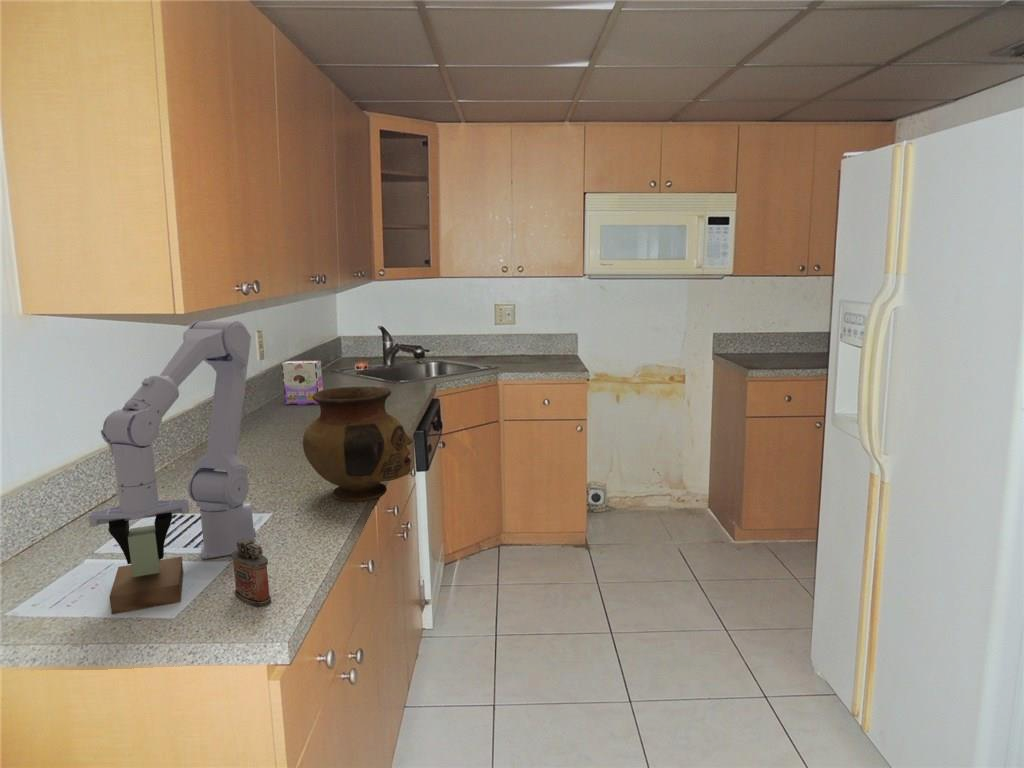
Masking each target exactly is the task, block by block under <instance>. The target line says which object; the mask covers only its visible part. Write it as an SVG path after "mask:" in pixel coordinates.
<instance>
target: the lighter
mask: <svg viewBox="0 0 1024 768" xmlns="http://www.w3.org/2000/svg"><path fill="white" fill-rule="evenodd" d="M237 547H238V550H236V551H233V552H232V553H231V555H230V556H231V559H232V563H233V565H232V566H233V572H234V573H233V576H234V585H235V589H234V596H235V598H236V599H237V600H239V601H241V602H242V603H243V604H246V605H248V606H251V607H254V608H258V609H259V608H266V607H268V606H270V605H271V604H272V596H271V595H270V588H269V577H268V575H269V574H268V564H269V559H268V558H267V557H266V556H265V555H263V547H262V546H261V545H259V544H257V543H255V544H254V543H253V541H252V540H251V539H250V540H247V541H246V540H243V539H240V540H238V541H237Z"/></svg>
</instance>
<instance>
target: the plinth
mask: <svg viewBox="0 0 1024 768" xmlns="http://www.w3.org/2000/svg"><path fill="white" fill-rule="evenodd" d="M183 580H184V565H183V556H177V557H170V558H163V559H161V568H160V573H155V574H149V575H143V576H137V577H133V576H132V567H131V564H127V565H123V566H118V568H117V570H116V573H115V577H114V581H113V583H112V587H111V589H110V590H111V591H110V593H109V596H108V597H109V602H110V603H109V606H110V610H111V612H110V613H111V615H114V614H115V615H116V614H120V613H126V612H130V611H137V610H142V609H148V608H153V607H158V606H164V605H169V604H174V603H180V602H182V592H183V582H184V581H183Z"/></svg>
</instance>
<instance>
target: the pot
mask: <svg viewBox="0 0 1024 768" xmlns="http://www.w3.org/2000/svg"><path fill="white" fill-rule="evenodd" d="M391 394H392V391H391V389H389V388H387V387H380V386H345V387H334V388H325V389H323V390H321V391H319V392H316V393H315V394H314V395H313V396H312V397H313V399H314V400H315V401H316V402H318V403H319V404H318V405H319V408H320V415H319V417H317V418H316V419H314V420H313V421H311V423H309V425H308V426H307V427H306V428H305V430H304V433H303V437H302V447H303V453H304V455H305V458H306V460H307V461H308V463H309V465H310V466H311V467H312V468H313V470H314V471H315V472H316V474H318V475H319V476H321V478H322V479H324V480H325V481H327V482H328V483H330V484H332V485H335V486H338V487H335V488H334V489H333V490H332V495H333V497H334V498H335V499H336V500H338V501H342V502H347V503H359V502H368V501H372V500H376V499H378V498H381V497H382V496H384V495H385V494H386V492H387V490H388V489H387V486H386V485H385V484H383V482H384V483H385V482H390V481H394V480H397V479H400V478H403V477H405V476H407V475H409V474H410V473H411V469H412V468H411V464H412V463H411V462H412V458H410V457H409V456H410V455H411V450H410V449H409V448H408V447H407V446H410V445H411V444H413V442H414V440H413V439H412V438H411V436H409V435H408V434H407V432H406V431H405V430H404V425H403V424H402V423H401V421H400V420H398V419H397V418H396V417H394V416H393V415H391V414H389V413H388V412H387V410H386V400H387V398H388V397H390V396H391Z"/></svg>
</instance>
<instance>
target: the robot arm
mask: <svg viewBox="0 0 1024 768" xmlns="http://www.w3.org/2000/svg"><path fill="white" fill-rule="evenodd" d="M182 337H183V339H182V340H183V341H182V344H181V345H180V346H179V348H178V349H177V351H176V352H175V353H174V355H173V356H172V358H171V359H170V361H169V362H168V363H167V364H166V366H165V367H164V369H162V370H163V371H161V373H160V374H159V375H152V376H149V377H146V378H144V379H143V380H142V382H141V386H140V387H139V388H138V389H137V390H136V392H135V393H134V394H133V395H132V396H131V398H129V399H128V400H127V401H126V402H125V403H124V405H123V407H122V408H121V409H117V410H114V411H112V412H111V413H109V415H108V416H106V418H105V420H104V421H103V424H102V429H101V430H100V434H101V437H102V439H103V441H104V442H105V443H106V444H107V445H108V448H109V453H111V455H112V456H113V464H114V465H113V466H114V473H115V480H116V489H117V496H118V502H119V503H118V504H119V506H115V507H110V508H104V509H101V510H96V511H90V513H89V514H88V522H89V527H90V528H93V527H98V526H99V525H104V524H108V533H109V534H110V536H111V537H112V538H113V539H114V540H115V541H116V543H117V544H118V546H119V547H120V549H121V551H122V553H123V555H124V558H125V559H126V562H127V565H131V559H130V551H129V543H128V535H129V531H130V522H129V521H133V520H140V519H146V518H154V517H155V519H154V523H153V524H154V525H155V529H156V535H157V543H158V557H159V559H161V560H164V556H165V553H164V552H165V549H164V548H165V542H166V539H167V538H166V537H167V534H168V531H169V528H170V526H171V523H172V520H173V515H174V514H175V515H176V514H182V515H183V514H185V515H186V514H189V511H190V508H189V507H190V506H189V499H188V498H184V499H169V500H159V493H158V485H157V483H158V482H157V476H156V467H155V460H154V459H155V458H154V451H153V450H154V449H153V442H154V441H155V440H157V438H158V436H159V433H160V426H161V424H162V420H163V417H164V416H166V413H167V412H168V411H169V410H170V408H171V407H172V406H173V405H174V404H175V402H177V399H179V396H180V390H179V386H180V385H181V384H182V383H183V382H184V381H185V380H186V379H187V378H188V377H189V376H190V375H191V374H192V373H193V372H194V370H195V369H196V368H198V367H199V366H200V364H201V363H203V361H204V362H205V363H206V364H207V365H209V366H211V367H212V368H213V370H214V372H215V373H216V374H215V375H216V376H215V383H214V390H213V391H214V392H213V399H212V408H211V414H210V421H209V429H208V430H209V431H208V439H207V445H206V453H205V454H204V455H203V456H202V457H201V458H199V459H198V460H197V461H196V462H194V466H193V471H192V474H191V476H190V477H189V481H188V484H187V493H188V496H189V498H190V499H191V500H192V501H193V502H195V504H196V508H199V512H200V513H199V515H200V523H201V531H202V540H203V541H202V543H201V559H202V560H206V559H207V560H208V559H212V558H221V557H225V556H231V553H232V552H233V551H236V550H238V547H237V541H238V540H240V539H243V540H246V541H247V540H250V539H251V540H252V541H253V543H254V544H256V539H255V538H256V537H257V531H256V527H255V528H254V519H253V509H252V501H251V500H246V499H247V496H248V494H249V480H248V470H249V469H248V468H249V467H248V466H247V465H246V464H245V463H244V462H243V461H242V460H241V459H240V457H238V456H237V453H238V447H239V438H240V432H241V431H240V430H241V421H242V414H243V406H244V405H243V404H244V399H245V398H244V397H245V390H246V389H245V388H246V383H247V381H246V380H247V372H248V365H249V357H250V349H251V341H252V336H251V335H250V332H249V331H248V329H247V328H246V326H245V324H244V323H242V321H239V320H233V321H205V320H195V321H193V322H192V323H191V324H190V325H189V326H188V328H187V329H186V330H185V331H183V335H182ZM219 470H224V471H219Z"/></svg>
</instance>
